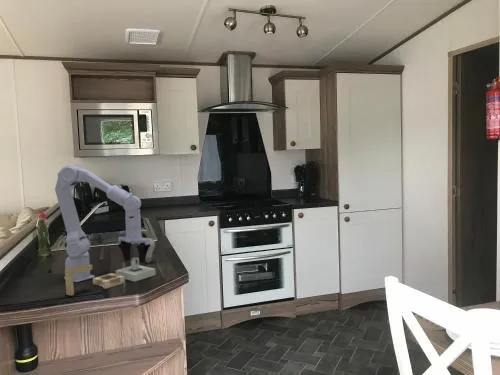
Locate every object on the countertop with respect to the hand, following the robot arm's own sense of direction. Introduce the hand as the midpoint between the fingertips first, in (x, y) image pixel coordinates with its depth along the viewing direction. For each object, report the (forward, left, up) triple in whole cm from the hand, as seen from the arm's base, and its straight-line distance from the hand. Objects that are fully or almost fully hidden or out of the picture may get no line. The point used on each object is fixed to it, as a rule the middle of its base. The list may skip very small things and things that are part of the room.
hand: (134, 261), depth 155 cm
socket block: (0, -12, -6) cm, 13 cm away
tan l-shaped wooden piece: (0, -23, -5) cm, 24 cm away
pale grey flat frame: (0, 0, -6) cm, 6 cm away
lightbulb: (-12, +16, -6) cm, 21 cm away
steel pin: (0, 0, -6) cm, 6 cm away
